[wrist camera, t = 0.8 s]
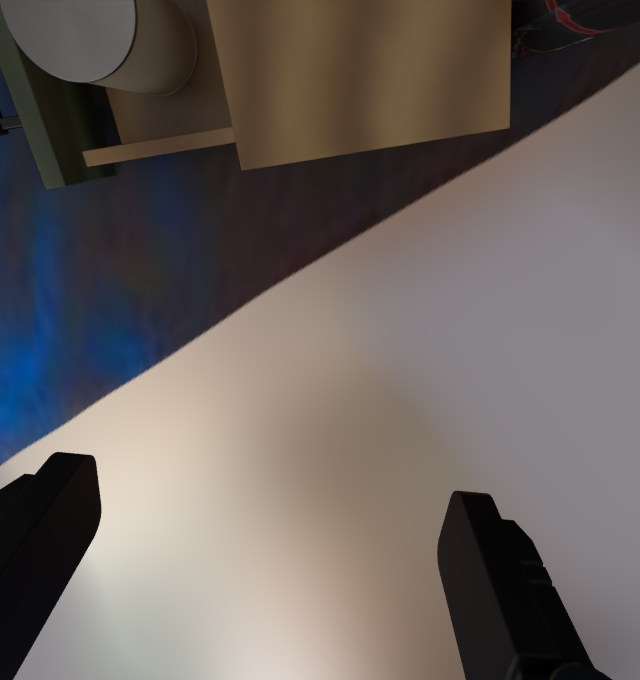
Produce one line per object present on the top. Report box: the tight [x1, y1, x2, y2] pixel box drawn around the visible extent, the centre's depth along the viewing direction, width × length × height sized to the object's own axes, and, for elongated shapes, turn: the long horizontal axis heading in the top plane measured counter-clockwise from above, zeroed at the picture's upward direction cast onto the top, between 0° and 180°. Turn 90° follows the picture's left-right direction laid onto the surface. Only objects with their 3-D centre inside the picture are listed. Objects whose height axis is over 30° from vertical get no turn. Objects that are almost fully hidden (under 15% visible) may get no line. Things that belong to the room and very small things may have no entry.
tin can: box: [0, 0, 198, 97], centre depth 24 cm, size 6×6×10 cm
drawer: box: [0, 0, 236, 189], centre depth 26 cm, size 17×14×7 cm
